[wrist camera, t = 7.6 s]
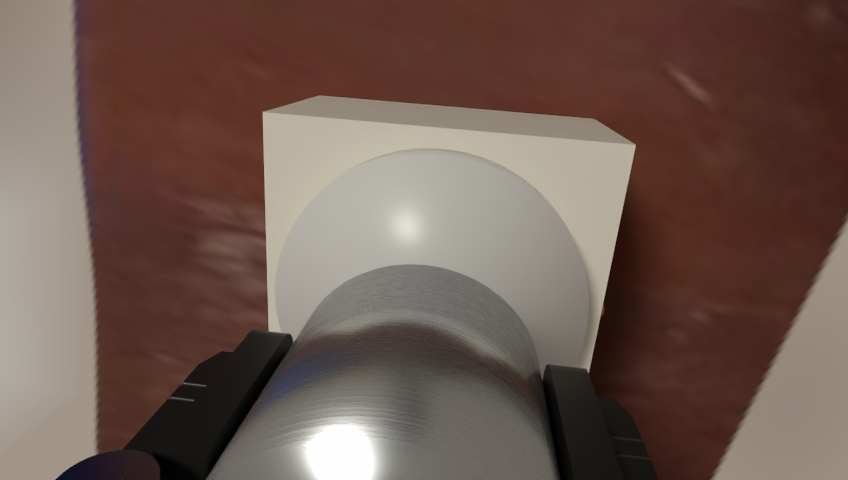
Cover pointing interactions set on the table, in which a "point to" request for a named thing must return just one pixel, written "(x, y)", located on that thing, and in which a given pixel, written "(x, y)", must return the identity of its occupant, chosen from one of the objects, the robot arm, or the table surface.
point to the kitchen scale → (446, 208)
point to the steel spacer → (401, 389)
